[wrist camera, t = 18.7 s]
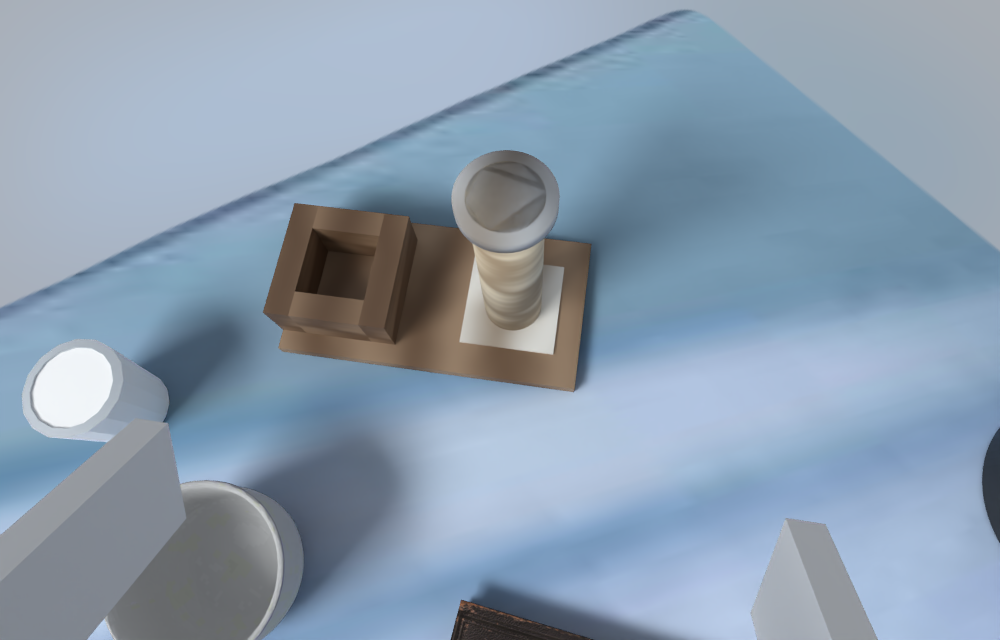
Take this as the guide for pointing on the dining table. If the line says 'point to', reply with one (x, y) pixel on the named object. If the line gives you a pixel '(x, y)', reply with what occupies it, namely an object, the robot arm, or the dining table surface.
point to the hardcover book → (502, 626)
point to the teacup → (216, 571)
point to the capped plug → (507, 230)
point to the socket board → (418, 300)
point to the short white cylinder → (90, 392)
